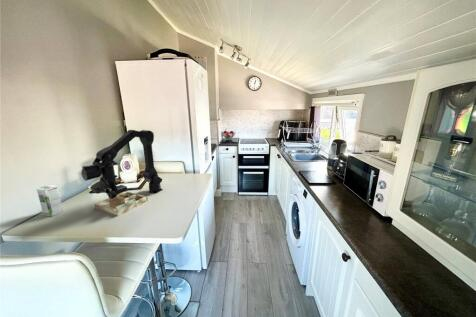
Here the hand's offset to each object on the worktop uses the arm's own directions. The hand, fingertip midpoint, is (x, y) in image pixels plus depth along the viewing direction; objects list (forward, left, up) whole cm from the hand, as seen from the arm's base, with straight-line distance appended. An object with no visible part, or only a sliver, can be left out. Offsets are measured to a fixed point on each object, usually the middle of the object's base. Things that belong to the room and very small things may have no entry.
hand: (113, 201), depth 102 cm
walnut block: (0, +4, -1) cm, 4 cm away
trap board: (-5, 0, -4) cm, 6 cm away
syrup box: (+16, -23, -4) cm, 29 cm away
